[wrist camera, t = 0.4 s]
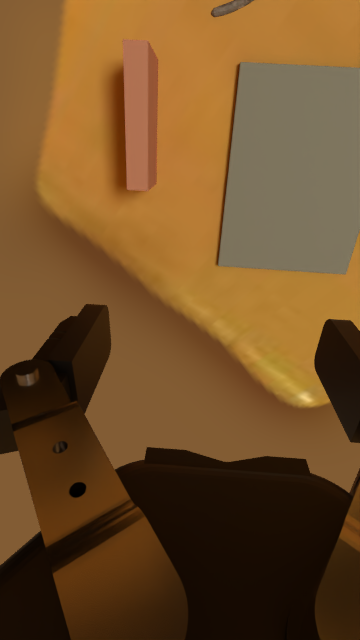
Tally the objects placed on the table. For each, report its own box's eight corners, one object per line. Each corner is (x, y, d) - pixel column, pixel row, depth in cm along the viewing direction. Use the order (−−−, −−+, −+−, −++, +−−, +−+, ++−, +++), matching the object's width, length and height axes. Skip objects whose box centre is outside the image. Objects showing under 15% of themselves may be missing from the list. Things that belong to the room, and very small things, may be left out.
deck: (137, 59, 28) (122, 39, 23) (158, 60, 28) (148, 40, 23) (138, 182, 33) (126, 189, 28) (156, 183, 33) (147, 191, 28)
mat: (239, 63, 28) (240, 62, 27) (405, 71, 28) (409, 70, 27) (217, 264, 37) (218, 265, 36) (343, 272, 36) (345, 274, 36)
